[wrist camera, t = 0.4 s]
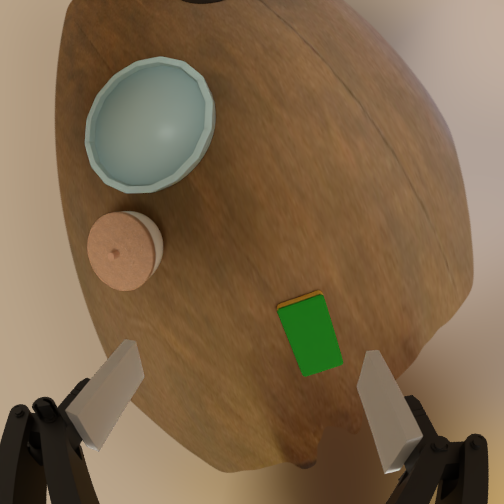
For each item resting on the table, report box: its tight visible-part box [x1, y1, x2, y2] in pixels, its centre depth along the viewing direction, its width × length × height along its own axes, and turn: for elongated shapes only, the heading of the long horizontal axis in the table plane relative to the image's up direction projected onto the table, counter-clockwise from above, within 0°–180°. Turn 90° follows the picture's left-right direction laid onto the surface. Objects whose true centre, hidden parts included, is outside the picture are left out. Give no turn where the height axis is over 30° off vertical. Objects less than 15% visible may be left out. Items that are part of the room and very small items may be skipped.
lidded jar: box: [87, 211, 163, 291], centre depth 36 cm, size 11×11×9 cm
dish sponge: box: [277, 290, 343, 377], centre depth 41 cm, size 7×14×2 cm, turn 21°
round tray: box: [85, 56, 216, 193], centre depth 35 cm, size 21×21×2 cm
